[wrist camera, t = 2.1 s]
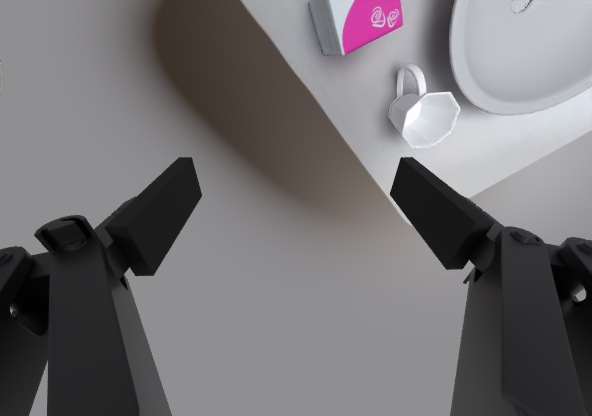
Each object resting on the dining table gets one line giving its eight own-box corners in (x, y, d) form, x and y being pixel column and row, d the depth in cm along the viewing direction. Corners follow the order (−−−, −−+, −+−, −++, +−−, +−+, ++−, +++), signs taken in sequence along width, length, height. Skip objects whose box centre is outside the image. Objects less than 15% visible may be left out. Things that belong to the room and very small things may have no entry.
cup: (384, 140, 36) (406, 158, 29) (369, 76, 31) (391, 81, 24) (428, 120, 34) (461, 135, 28) (420, 50, 29) (459, 47, 22)
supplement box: (323, 57, 29) (340, 57, 20) (307, 2, 26) (319, -30, 17) (365, 36, 28) (405, 25, 19) (354, -25, 25) (395, -75, 15)
